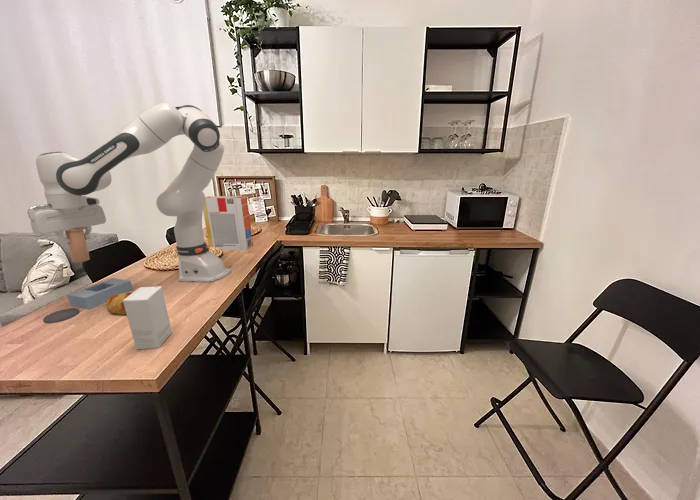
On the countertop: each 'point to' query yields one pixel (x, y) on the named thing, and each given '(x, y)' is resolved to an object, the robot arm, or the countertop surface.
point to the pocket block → (99, 293)
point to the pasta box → (228, 222)
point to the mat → (61, 315)
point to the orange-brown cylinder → (77, 245)
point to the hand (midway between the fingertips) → (77, 241)
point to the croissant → (117, 303)
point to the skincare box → (148, 317)
